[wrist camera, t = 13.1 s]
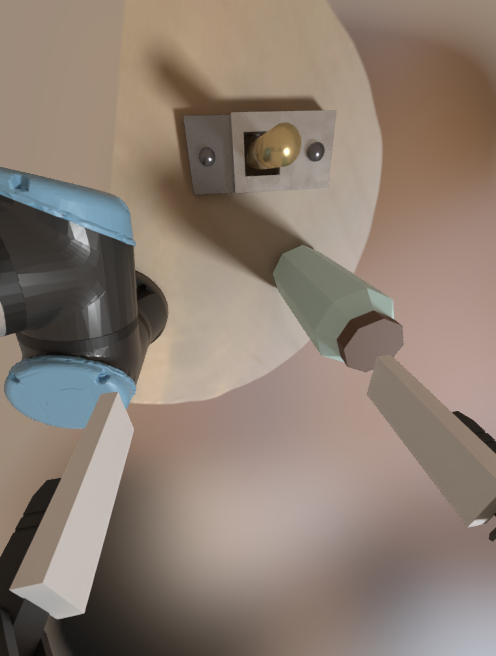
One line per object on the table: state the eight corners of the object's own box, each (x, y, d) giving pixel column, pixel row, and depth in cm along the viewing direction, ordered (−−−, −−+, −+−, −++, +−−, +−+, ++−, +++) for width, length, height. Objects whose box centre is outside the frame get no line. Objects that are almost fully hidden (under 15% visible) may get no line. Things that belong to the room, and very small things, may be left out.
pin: (246, 170, 38) (266, 167, 26) (245, 140, 36) (266, 122, 24) (269, 169, 38) (300, 166, 26) (270, 139, 36) (302, 122, 25)
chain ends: (194, 194, 38) (193, 195, 35) (183, 118, 34) (182, 112, 31) (320, 187, 41) (330, 188, 37) (327, 114, 36) (338, 108, 33)
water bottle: (273, 243, 44) (338, 305, 23) (327, 242, 45) (436, 300, 24) (269, 296, 49) (319, 387, 28) (318, 294, 51) (401, 379, 29)
